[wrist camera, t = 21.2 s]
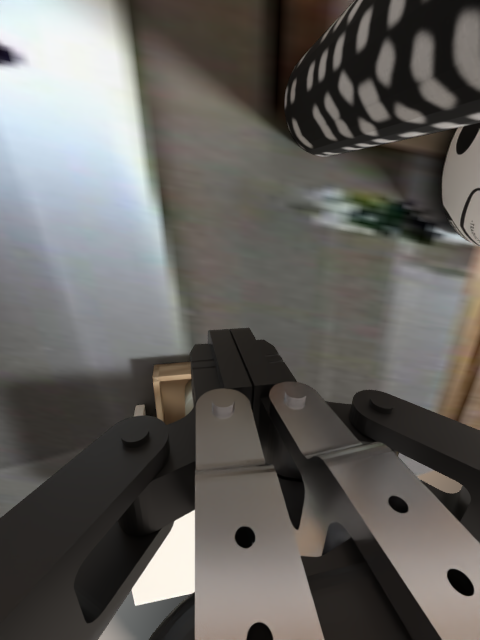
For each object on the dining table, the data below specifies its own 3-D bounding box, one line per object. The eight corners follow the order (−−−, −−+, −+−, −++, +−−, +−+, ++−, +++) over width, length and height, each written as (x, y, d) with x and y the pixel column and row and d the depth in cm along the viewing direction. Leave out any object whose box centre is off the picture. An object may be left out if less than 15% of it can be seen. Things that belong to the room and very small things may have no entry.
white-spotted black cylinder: (361, 159, 29) (666, 109, 11) (279, 153, 27) (476, 81, 9) (381, 50, 25) (870, -287, 7) (290, 35, 24) (628, -435, 6)
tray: (154, 364, 33) (146, 416, 26) (240, 357, 35) (257, 404, 28) (166, 465, 40) (162, 531, 32) (238, 455, 42) (252, 515, 34)
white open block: (147, 486, 41) (135, 605, 29) (135, 405, 35) (114, 512, 23) (260, 469, 44) (289, 572, 32) (265, 392, 38) (304, 482, 26)
